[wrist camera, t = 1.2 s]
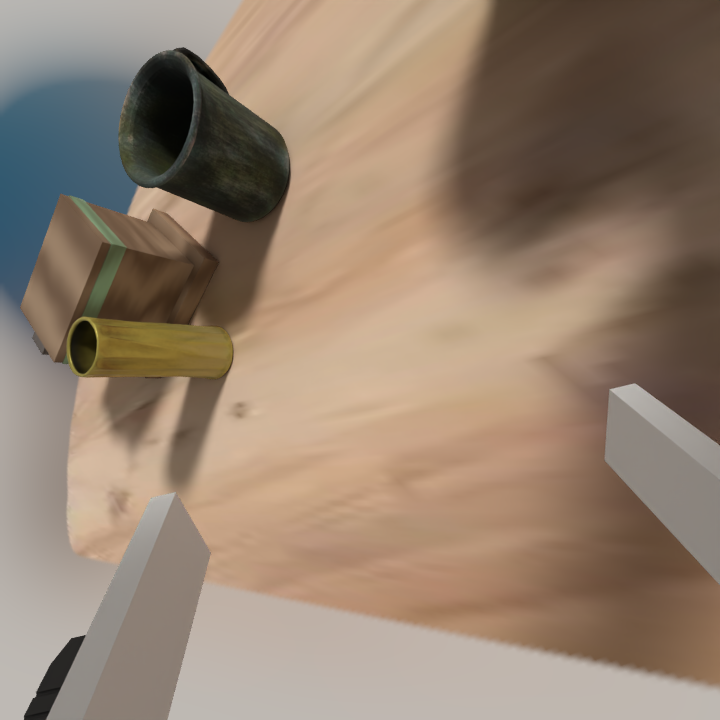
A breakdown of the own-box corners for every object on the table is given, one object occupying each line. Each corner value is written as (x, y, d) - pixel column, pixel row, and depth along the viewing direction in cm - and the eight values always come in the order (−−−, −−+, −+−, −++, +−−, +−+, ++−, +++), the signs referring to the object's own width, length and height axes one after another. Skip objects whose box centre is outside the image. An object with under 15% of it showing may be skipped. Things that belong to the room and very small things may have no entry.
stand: (167, 213, 53) (61, 176, 43) (218, 262, 48) (113, 232, 38) (118, 324, 58) (12, 314, 48) (160, 378, 53) (52, 380, 43)
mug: (227, 241, 48) (122, 205, 37) (214, 123, 49) (109, 57, 39) (303, 207, 42) (204, 153, 32) (284, 75, 44) (185, -17, 33)
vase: (242, 347, 46) (109, 339, 34) (217, 390, 48) (83, 397, 36) (212, 315, 48) (79, 297, 36) (190, 357, 50) (56, 353, 38)
